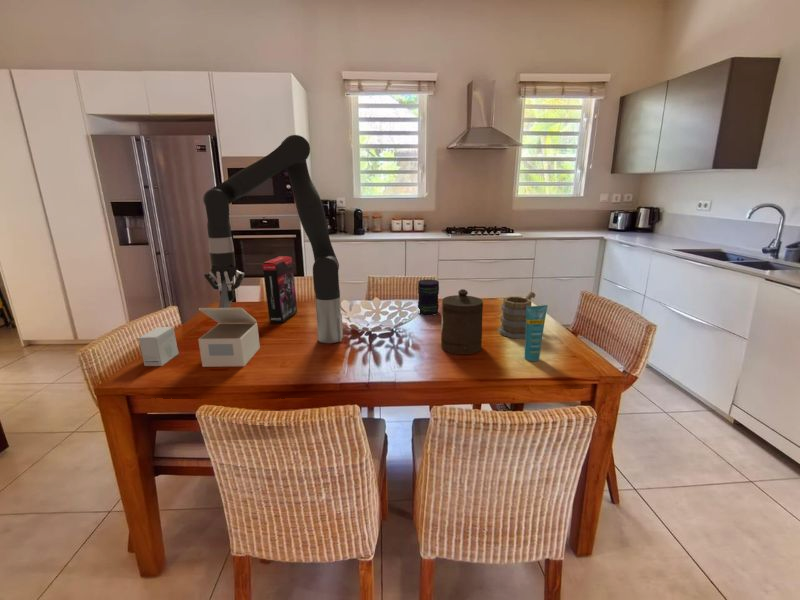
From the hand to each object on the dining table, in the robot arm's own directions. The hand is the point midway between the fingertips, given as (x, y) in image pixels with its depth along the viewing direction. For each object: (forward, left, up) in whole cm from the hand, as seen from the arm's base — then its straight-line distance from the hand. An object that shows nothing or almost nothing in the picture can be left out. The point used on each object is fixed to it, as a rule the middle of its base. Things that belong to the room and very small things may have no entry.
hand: (227, 300), depth 139 cm
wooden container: (-82, -5, -20) cm, 85 cm away
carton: (0, +2, -20) cm, 20 cm away
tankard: (-109, -22, -20) cm, 113 cm away
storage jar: (-73, -48, -20) cm, 90 cm away
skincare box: (+24, +4, -20) cm, 32 cm away
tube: (-105, +6, -20) cm, 107 cm away
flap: (0, +1, -5) cm, 5 cm away
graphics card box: (-6, -42, -20) cm, 47 cm away
